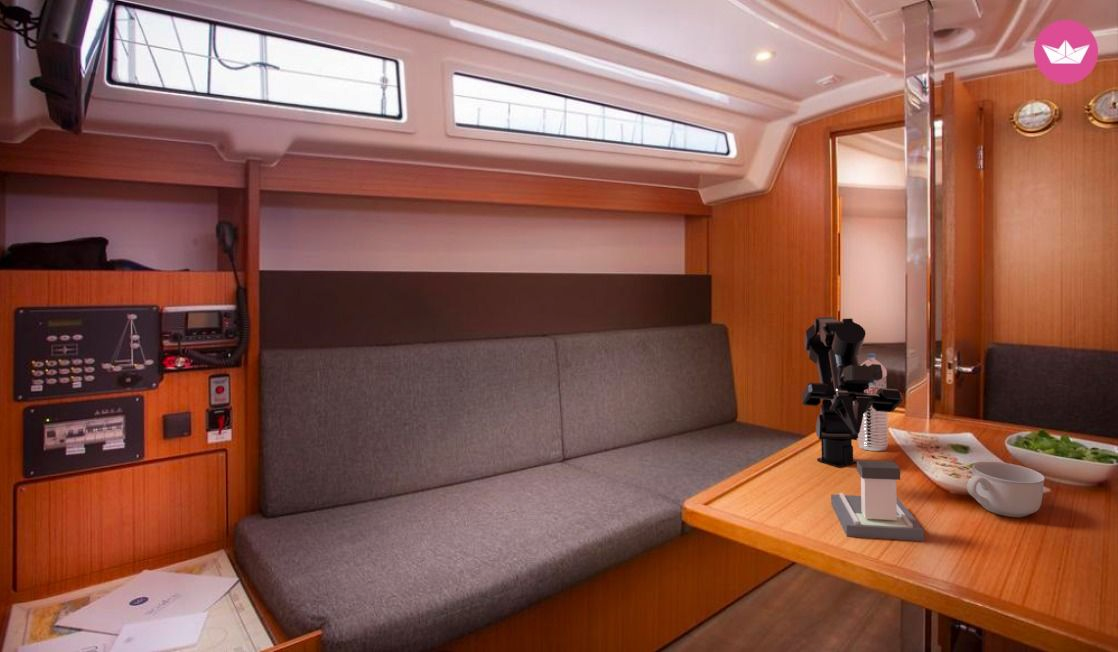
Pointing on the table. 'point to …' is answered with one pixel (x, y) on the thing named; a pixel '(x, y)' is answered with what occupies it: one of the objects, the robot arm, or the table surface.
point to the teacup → (1006, 488)
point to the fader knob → (878, 489)
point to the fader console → (875, 521)
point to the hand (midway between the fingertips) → (856, 433)
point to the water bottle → (874, 416)
